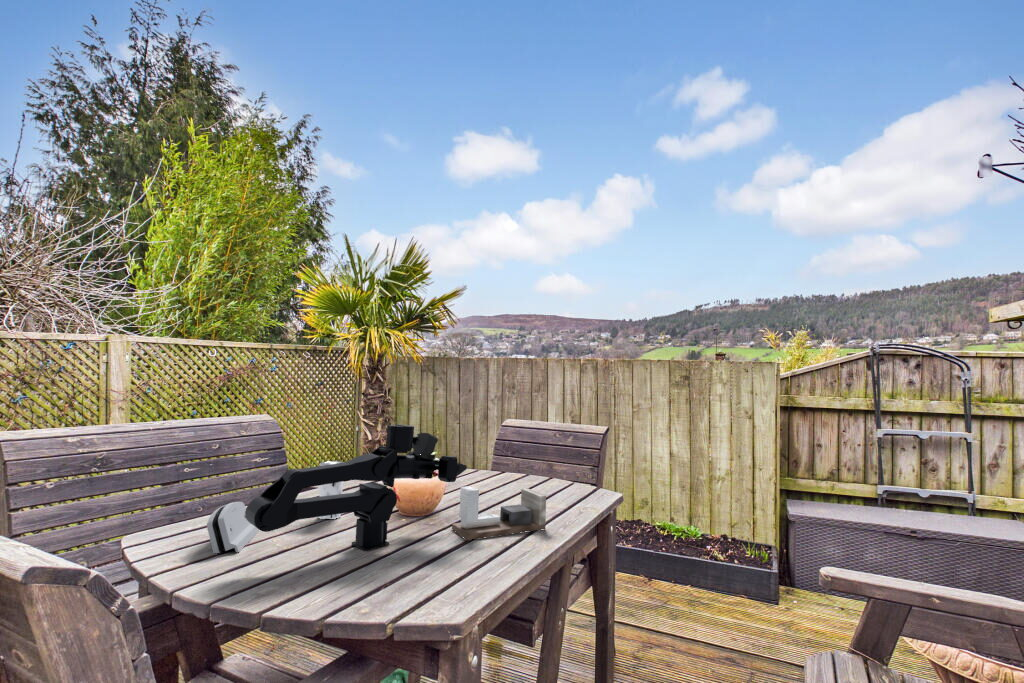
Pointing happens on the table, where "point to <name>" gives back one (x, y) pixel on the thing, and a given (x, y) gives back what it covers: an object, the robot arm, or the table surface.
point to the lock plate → (512, 518)
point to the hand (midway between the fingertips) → (455, 465)
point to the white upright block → (330, 490)
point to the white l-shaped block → (473, 510)
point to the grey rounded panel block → (230, 528)
